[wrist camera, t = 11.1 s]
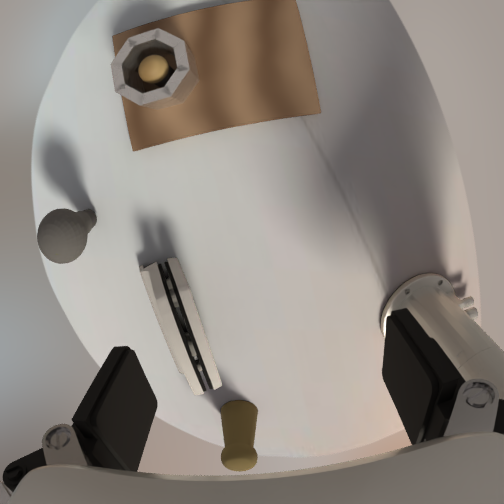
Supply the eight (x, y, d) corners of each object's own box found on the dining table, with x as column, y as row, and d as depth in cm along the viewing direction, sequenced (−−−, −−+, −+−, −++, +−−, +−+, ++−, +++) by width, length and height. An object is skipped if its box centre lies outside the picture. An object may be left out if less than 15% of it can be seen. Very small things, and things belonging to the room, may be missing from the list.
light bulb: (66, 204, 34) (19, 228, 24) (101, 187, 33) (57, 208, 24) (83, 244, 36) (42, 278, 26) (118, 230, 35) (81, 263, 26)
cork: (261, 402, 46) (265, 458, 36) (253, 424, 48) (255, 477, 38) (223, 397, 45) (221, 454, 35) (217, 419, 47) (214, 473, 37)
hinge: (138, 263, 37) (141, 296, 28) (174, 251, 38) (188, 281, 29) (178, 367, 43) (193, 414, 34) (208, 357, 44) (229, 401, 35)
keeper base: (292, 0, 26) (303, -27, 19) (317, 113, 31) (336, 109, 24) (117, 39, 27) (90, 21, 20) (137, 150, 32) (112, 155, 25)
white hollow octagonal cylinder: (191, 40, 27) (180, 21, 21) (202, 98, 29) (193, 90, 23) (129, 58, 27) (108, 45, 21) (140, 115, 29) (119, 112, 24)
